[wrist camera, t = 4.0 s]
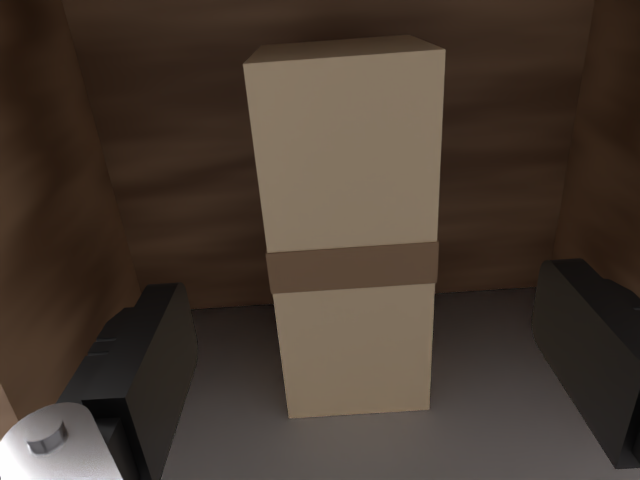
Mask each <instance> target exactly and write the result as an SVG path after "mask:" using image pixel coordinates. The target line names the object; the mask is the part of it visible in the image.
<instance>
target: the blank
mask: <svg viewBox="0 0 640 480" xmlns="http://www.w3.org/2000/svg"><path fill="white" fill-rule="evenodd" d="M445 52H446V49H444V48H441V47H439V46H436V45H434V44H431V43H429V42H426V41H424V40H421V39H419V38H416V37H414V36H411V35H396V36H383V37H369V38H355V39H342V40H328V41H314V42H300V43H287V44H273V45H261V46H260V47H259V48H258V49H257V50H256V51H255V52H254V53H253V54H252V55H251V56H250V57H249V58H248V59H247V60H246V61H245V62H244V63H243V69H244V77H245V85H246V92H247V100H248V108H249V115H250V123H251V131H252V139H253V146H254V154H255V162H256V169H257V177H258V185H259V192H260V200H261V208H262V216H263V223H264V231H265V239H266V246H267V248H266V261H267V269H268V277H269V284H270V292H271V294H273V300H274V308H275V316H276V324H277V331H278V339H279V347H280V354H281V362H282V370H283V378H284V385H285V393H286V401H287V408H288V416H289V419H291V418H307V417H323V416H339V415H355V414H372V413H388V412H404V411H420V410H429V407H430V385H431V362H432V340H433V318H434V296H435V283H437V275H438V254H439V241H438V239H437V230H438V207H439V185H440V163H441V141H442V119H443V97H444V75H445Z"/></svg>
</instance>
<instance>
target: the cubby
mask: <svg viewBox="0 0 640 480" xmlns="http://www.w3.org/2000/svg"><path fill="white" fill-rule="evenodd" d="M396 35H411V36H414V37H416V38H419V39H421V40H424V41H426V42H429V43H431V44H434V45H436V46H439V47H441V48H444V49H446V52H445V75H444V97H443V119H442V141H441V163H440V185H439V207H438V230H437V239H438V241H439V254H438V275H437V283H435V294H436V293H451V292H467V291H482V290H497V289H513V288H528V287H537V282H538V276H539V270H540V266H541V264H542V263H543V262H544V261H545V260H557V259H573V258H581V259H583V260H585V261H586V262H587V263H588V264H589V265H590V266H591V267H592V268H593V269H594V270H595V271H596V272H597V273H598V274H599V275H600V276H601V277H602V278H603V279H610V280H612V281H614V282H616V283H618V284H620V285H622V286H623V287H625V288H627V289H629V290H631V291H633V292H634V293H635V294H636V295H637V296H638V297H639V298H640V0H0V442H1V440H2V438H3V437H4V435H5V434H6V433H7V432H8V431H9V430H10V429H11V428H12V427H13V426H14V425H15V424H16V423H17V422H19V421H20V420H21V419H23V418H24V417H26V416H27V415H29V414H31V413H33V412H35V411H36V410H39V409H41V408H44V407H46V406H49V405H53V404H55V403H56V402H57V400H58V399H59V397H60V395H61V394H62V392H63V391H64V389H65V388H66V386H67V384H68V383H69V381H70V380H71V378H72V376H73V375H74V373H75V372H76V370H77V368H78V367H79V365H80V364H81V362H82V360H83V359H84V357H85V356H88V351H89V349H90V348H91V346H92V344H93V343H94V342H96V338H97V337H98V335H99V333H100V332H101V330H102V329H103V327H104V325H105V324H106V322H107V321H109V320H110V319H111V318H112V317H114V316H115V315H116V314H117V313H119V312H120V311H121V310H122V309H123V308H127V307H134V306H135V304H136V303H137V301H138V299H139V297H140V296H141V294H142V292H143V290H144V289H145V287H146V286H147V285H148V284H160V283H176V282H182V283H183V284H184V286H185V288H186V291H187V296H188V300H189V305H190V309H206V308H222V307H237V306H252V305H268V304H274V300H273V294H271V292H270V284H269V277H268V269H267V261H266V248H267V246H266V239H265V231H264V223H263V216H262V208H261V200H260V192H259V185H258V177H257V169H256V162H255V154H254V146H253V139H252V131H251V123H250V115H249V108H248V100H247V92H246V85H245V77H244V69H243V63H244V62H245V61H246V60H247V59H248V58H249V57H250V56H251V55H252V54H253V53H254V52H255V51H256V50H257V49H258V48H259V47H260V46H261V45H273V44H287V43H300V42H314V41H328V40H342V39H355V38H369V37H383V36H396Z"/></svg>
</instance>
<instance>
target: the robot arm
mask: <svg viewBox="0 0 640 480" xmlns="http://www.w3.org/2000/svg"><path fill="white" fill-rule="evenodd" d="M532 331H533V336H534V339H535V342H536V345H537V346H538V348H539V350H540V351H541V353H542V354H543V356H544V357H545V359H546V361H547V362H548V364H549V365H550V367H551V368H552V370H553V372H554V373H555V375H556V376H557V378H558V379H559V381H560V383H561V384H562V386H563V387H564V389H565V390H566V392H567V394H568V395H569V397H570V398H571V400H572V401H573V403H574V405H575V406H576V408H577V409H578V411H579V412H580V414H581V416H582V417H583V419H584V420H585V422H586V423H587V425H588V427H589V428H590V430H591V431H592V433H593V434H594V436H595V438H596V439H597V441H598V442H599V444H600V445H601V447H602V449H603V450H604V452H605V453H606V455H607V456H608V458H609V460H610V461H611V463H612V464H613V466H614V467H615V469H628V468H640V298H639V297H638V296H637V295H636V294H635V293H634V292H633V291H631V290H629V289H627V288H625V287H623V286H622V285H620V284H618V283H616V282H614V281H612V280H610V279H603V278H602V277H601V276H600V275H599V274H598V273H597V272H596V271H595V270H594V269H593V268H592V267H591V266H590V265H589V264H588V263H587V262H586V261H585V260H583V259H581V258H573V259H557V260H545V261H544V262H543V263H542V264H541V266H540V270H539V276H538V282H537V288H536V295H535V301H534V308H533V314H532ZM197 356H198V344H197V336H196V332H195V327H194V323H193V318H192V314H191V309H190V305H189V300H188V296H187V291H186V288H185V286H184V284H183V283H182V282H176V283H160V284H148V285H147V286H146V287H145V289H144V290H143V292H142V294H141V296H140V297H139V299H138V301H137V303H136V304H135V306H134V307H127V308H123V309H122V310H121V311H120V312H119V313H117V314H116V315H115V316H114V317H112V318H111V319H110V320H109V321H107V322H106V324H105V325H104V327H103V329H102V330H101V332H100V333H99V335H98V337H97V338H96V342H94V343H93V344H92V346H91V348H90V349H89V351H88V356H85V357H84V359H83V360H82V362H81V364H80V365H79V367H78V368H77V370H76V372H75V373H74V375H73V376H72V378H71V380H70V381H69V383H68V384H67V386H66V388H65V389H64V391H63V392H62V394H61V395H60V397H59V399H58V400H57V402H56V403H55V404H53V405H49V406H46V407H44V408H41V409H39V410H36V411H35V412H33V413H31V414H29V415H27V416H26V417H24V418H23V419H21V420H20V421H19V422H17V423H16V424H15V425H14V426H13V427H12V428H11V429H10V430H9V431H8V432H7V433H6V434H5V435H4V437H3V438H2V440H1V442H0V480H160V479H161V475H162V472H163V469H164V466H165V463H166V460H167V456H168V453H169V450H170V447H171V444H172V440H173V437H174V434H175V431H176V428H177V424H178V421H179V418H180V415H181V412H182V409H183V405H184V402H185V399H186V396H187V393H188V389H189V386H190V383H191V380H192V377H193V374H194V370H195V367H196V363H197Z"/></svg>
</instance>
